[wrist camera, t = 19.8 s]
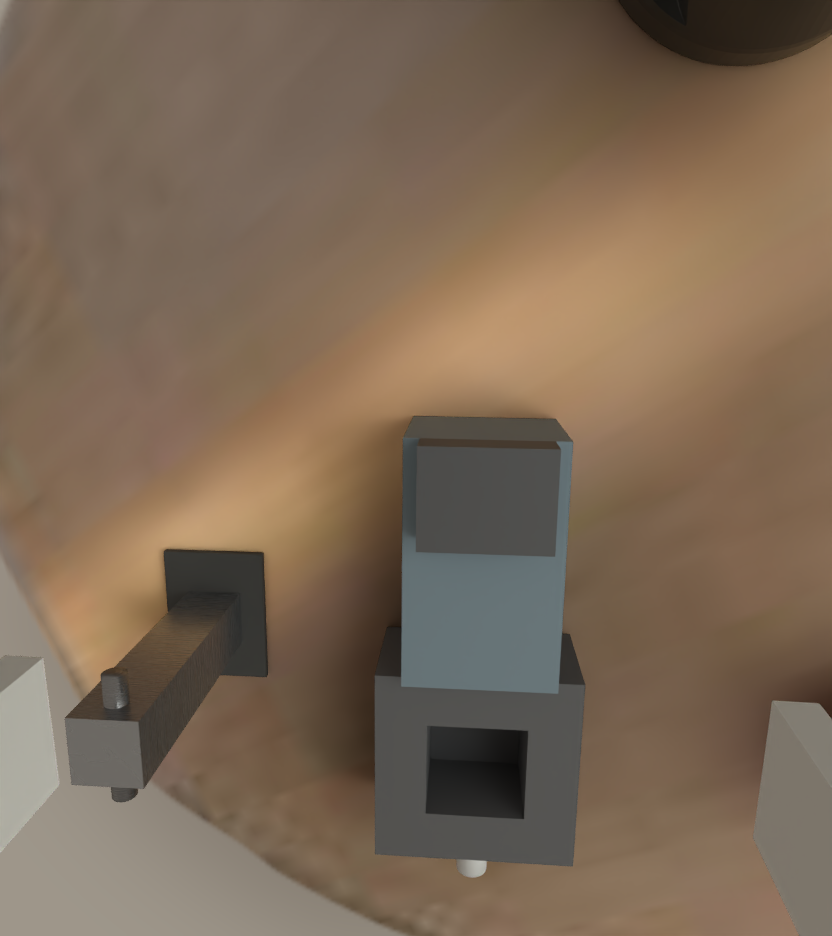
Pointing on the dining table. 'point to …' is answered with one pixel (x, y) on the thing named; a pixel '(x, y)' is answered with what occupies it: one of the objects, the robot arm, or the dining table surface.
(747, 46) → the robot arm
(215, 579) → the mat
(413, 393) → the dining table surface
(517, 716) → the block with square socket
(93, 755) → the gray block with peg
